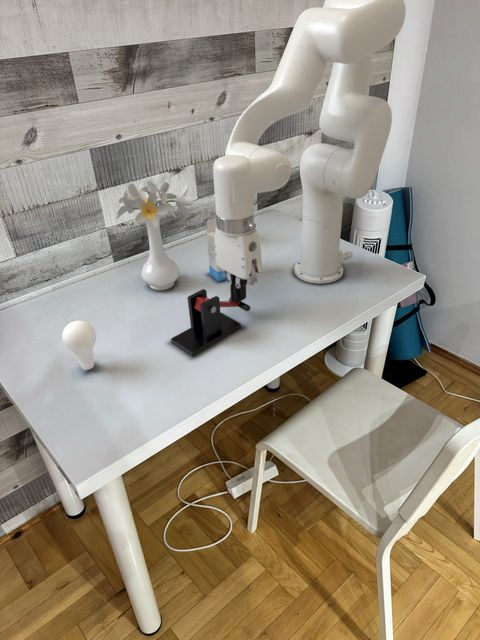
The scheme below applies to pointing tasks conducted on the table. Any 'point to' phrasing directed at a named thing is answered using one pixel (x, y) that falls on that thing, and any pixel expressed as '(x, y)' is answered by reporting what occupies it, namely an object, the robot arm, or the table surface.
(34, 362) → the table surface
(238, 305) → the red lever handle
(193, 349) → the black lever base
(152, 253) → the flower vase
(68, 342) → the lightbulb
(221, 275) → the ink box
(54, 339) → the table surface
